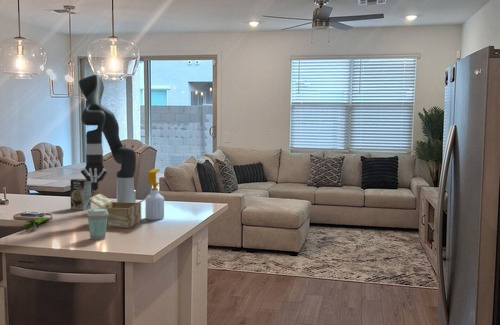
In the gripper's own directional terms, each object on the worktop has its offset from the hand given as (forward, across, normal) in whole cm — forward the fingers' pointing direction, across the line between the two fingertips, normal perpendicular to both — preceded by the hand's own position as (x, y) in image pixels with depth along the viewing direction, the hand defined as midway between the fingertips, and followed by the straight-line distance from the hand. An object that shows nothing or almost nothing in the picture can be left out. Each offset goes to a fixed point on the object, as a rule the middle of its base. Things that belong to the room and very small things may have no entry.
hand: (95, 190), depth 236 cm
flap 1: (+6, +6, 0) cm, 9 cm away
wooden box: (+16, +12, 0) cm, 20 cm away
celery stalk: (+16, -23, -10) cm, 30 cm away
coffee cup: (+16, +13, -29) cm, 35 cm away
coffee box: (+16, -22, +34) cm, 44 cm away
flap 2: (+6, +19, 0) cm, 20 cm away
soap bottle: (+16, +24, +16) cm, 33 cm away
